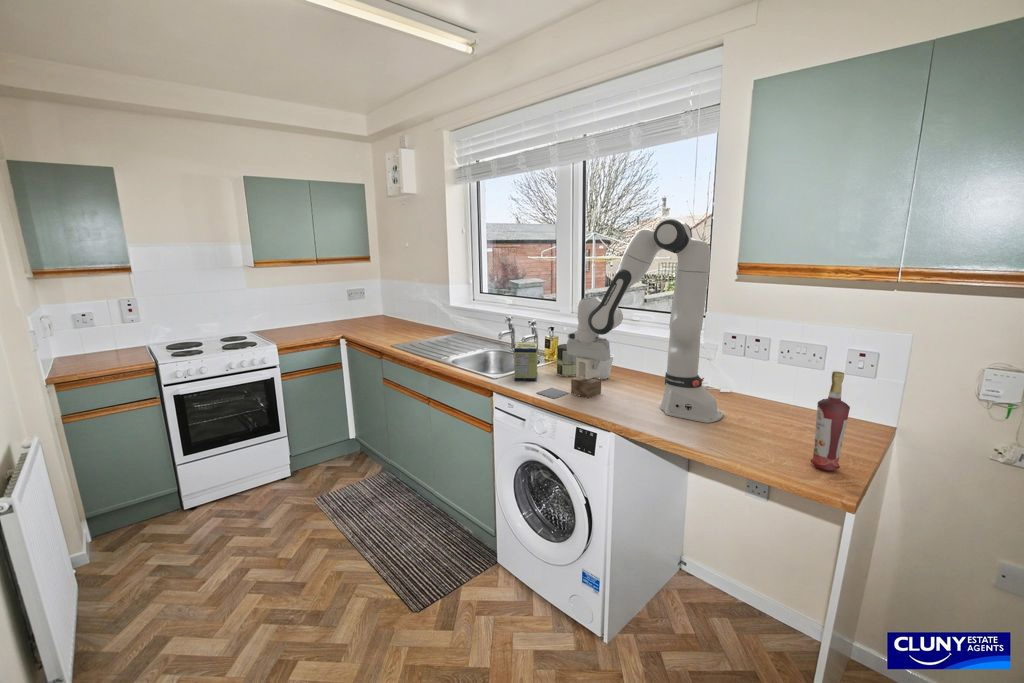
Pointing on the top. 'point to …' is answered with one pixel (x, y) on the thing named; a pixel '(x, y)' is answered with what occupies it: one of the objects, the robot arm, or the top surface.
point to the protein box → (525, 361)
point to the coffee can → (565, 362)
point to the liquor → (830, 427)
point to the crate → (586, 386)
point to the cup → (605, 368)
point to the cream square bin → (586, 368)
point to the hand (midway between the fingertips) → (587, 367)
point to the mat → (553, 392)
